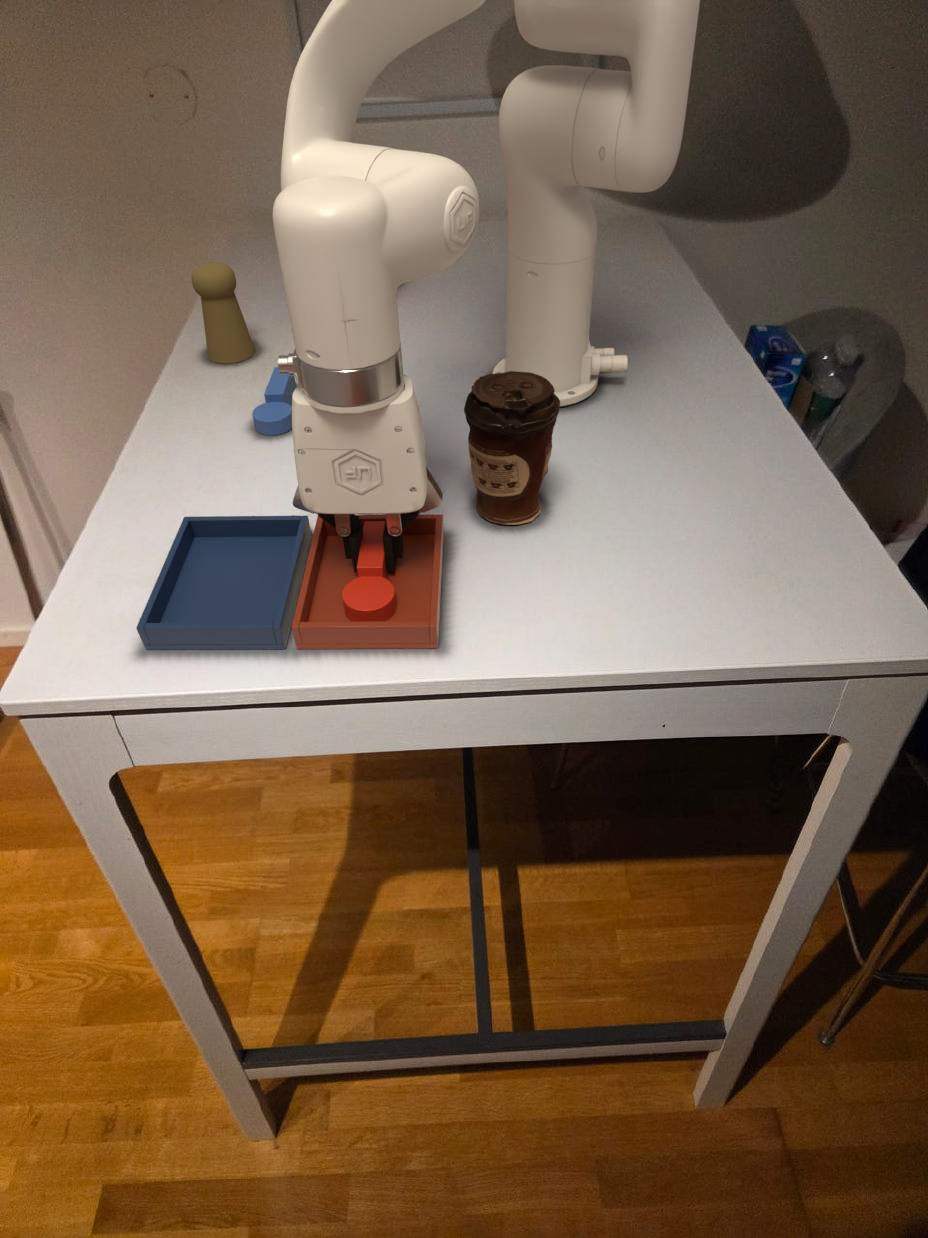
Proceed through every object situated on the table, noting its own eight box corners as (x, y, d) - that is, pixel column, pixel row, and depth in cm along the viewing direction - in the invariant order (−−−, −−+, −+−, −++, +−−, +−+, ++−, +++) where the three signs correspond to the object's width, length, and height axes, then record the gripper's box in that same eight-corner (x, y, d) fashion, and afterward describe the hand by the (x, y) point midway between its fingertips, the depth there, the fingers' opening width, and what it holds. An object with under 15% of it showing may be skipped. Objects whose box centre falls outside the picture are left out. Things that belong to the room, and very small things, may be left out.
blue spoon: (269, 388, 96) (265, 366, 94) (305, 388, 96) (302, 366, 94) (251, 435, 89) (246, 413, 87) (291, 435, 88) (286, 413, 87)
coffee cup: (523, 546, 74) (529, 422, 65) (448, 518, 77) (443, 397, 68) (566, 498, 79) (576, 377, 70) (494, 474, 82) (495, 355, 73)
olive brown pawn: (244, 365, 101) (223, 276, 93) (199, 361, 101) (175, 274, 94) (262, 343, 105) (243, 257, 97) (219, 340, 106) (198, 254, 98)
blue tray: (312, 537, 76) (308, 515, 74) (285, 649, 65) (279, 627, 63) (191, 538, 76) (184, 516, 74) (145, 650, 65) (135, 627, 64)
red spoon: (355, 545, 74) (352, 521, 72) (403, 544, 73) (400, 520, 72) (341, 626, 66) (337, 601, 64) (394, 626, 66) (391, 601, 64)
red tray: (443, 535, 75) (442, 513, 73) (438, 648, 65) (436, 626, 63) (321, 537, 76) (317, 515, 74) (296, 649, 65) (291, 627, 63)
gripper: (231, 397, 56) (279, 591, 69) (459, 394, 55) (465, 590, 68) (253, 348, 61) (294, 536, 74) (461, 345, 61) (466, 535, 74)
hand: (375, 560), depth 71 cm, fingers closed on red spoon, 2 cm apart
